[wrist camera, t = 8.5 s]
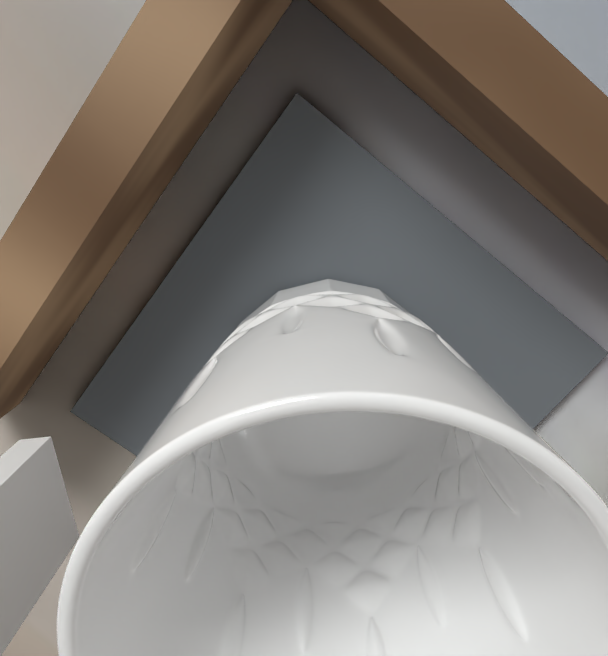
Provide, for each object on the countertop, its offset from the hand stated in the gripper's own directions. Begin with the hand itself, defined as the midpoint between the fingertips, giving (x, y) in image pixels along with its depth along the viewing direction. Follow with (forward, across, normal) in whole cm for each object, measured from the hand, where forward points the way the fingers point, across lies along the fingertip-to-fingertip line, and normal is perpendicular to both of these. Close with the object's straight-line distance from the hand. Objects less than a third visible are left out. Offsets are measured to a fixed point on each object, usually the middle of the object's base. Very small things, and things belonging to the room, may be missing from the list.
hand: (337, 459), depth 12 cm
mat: (+5, 0, 0) cm, 5 cm away
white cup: (+5, 0, 0) cm, 5 cm away
